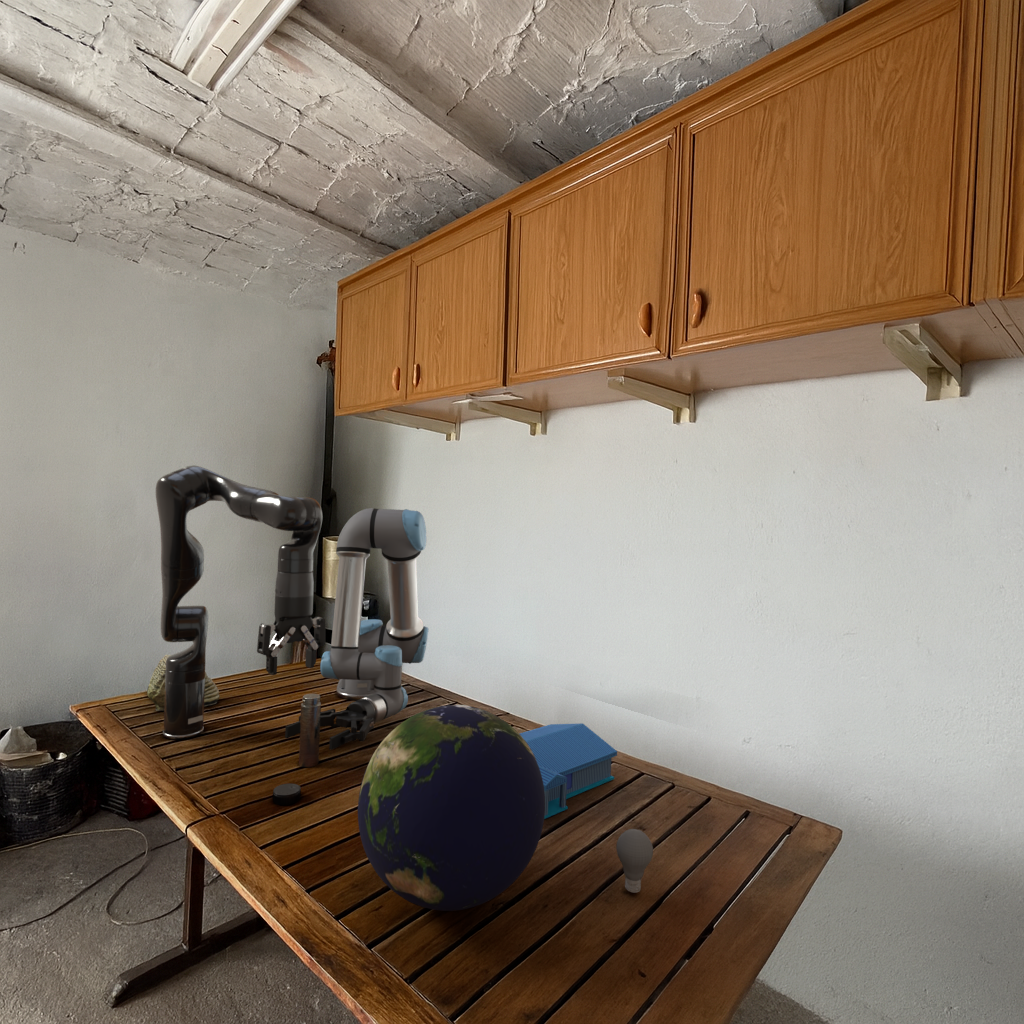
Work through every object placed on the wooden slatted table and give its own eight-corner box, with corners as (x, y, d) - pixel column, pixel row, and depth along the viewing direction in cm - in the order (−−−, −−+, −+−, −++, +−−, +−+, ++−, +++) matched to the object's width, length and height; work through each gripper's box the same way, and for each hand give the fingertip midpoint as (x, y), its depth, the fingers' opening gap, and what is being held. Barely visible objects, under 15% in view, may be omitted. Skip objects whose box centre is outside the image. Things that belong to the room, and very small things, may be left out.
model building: (497, 839, 120) (500, 786, 120) (424, 791, 138) (425, 745, 138) (625, 783, 146) (627, 740, 146) (549, 749, 164) (551, 711, 164)
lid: (281, 791, 135) (281, 781, 135) (305, 794, 134) (305, 785, 134) (267, 803, 130) (267, 793, 130) (292, 806, 129) (292, 796, 129)
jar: (303, 768, 147) (306, 700, 147) (295, 762, 150) (298, 695, 150) (321, 764, 150) (324, 696, 150) (313, 757, 153) (316, 692, 153)
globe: (313, 921, 95) (320, 722, 94) (416, 828, 122) (422, 674, 122) (496, 988, 83) (506, 762, 83) (564, 869, 111) (572, 699, 110)
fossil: (144, 707, 182) (145, 655, 182) (212, 696, 194) (213, 647, 194) (151, 716, 175) (153, 662, 175) (221, 703, 188) (223, 653, 188)
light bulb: (610, 879, 108) (613, 822, 108) (644, 879, 109) (647, 822, 109) (619, 902, 102) (622, 840, 102) (655, 901, 103) (658, 840, 103)
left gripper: (271, 598, 123) (268, 681, 124) (334, 592, 134) (331, 668, 135) (252, 593, 128) (249, 673, 129) (314, 588, 139) (311, 661, 140)
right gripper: (403, 735, 164) (349, 765, 144) (328, 717, 174) (268, 743, 155) (404, 706, 163) (350, 732, 144) (329, 690, 174) (269, 712, 155)
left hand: (291, 670), depth 132 cm, fingers open, 8 cm apart
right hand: (308, 738), depth 149 cm, fingers open, 13 cm apart
